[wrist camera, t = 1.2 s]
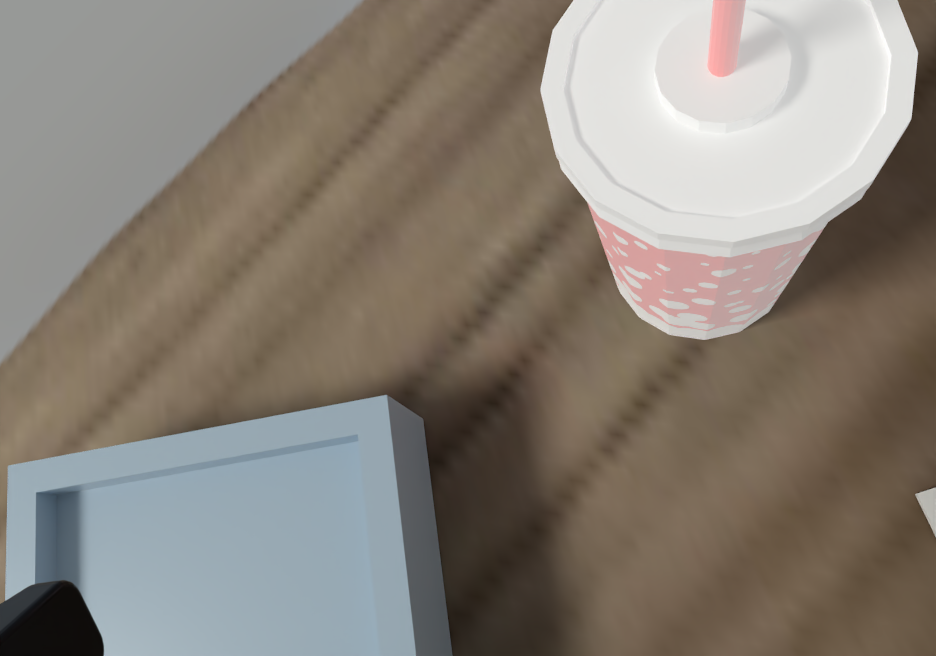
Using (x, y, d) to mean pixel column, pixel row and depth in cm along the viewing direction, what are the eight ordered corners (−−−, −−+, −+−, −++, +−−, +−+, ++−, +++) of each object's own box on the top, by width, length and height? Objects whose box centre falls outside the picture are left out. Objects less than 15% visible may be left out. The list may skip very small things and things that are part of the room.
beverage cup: (709, 417, 22) (780, 179, 9) (537, 265, 24) (386, -112, 11) (875, 245, 22) (1182, -234, 9) (690, 109, 24) (723, -442, 11)
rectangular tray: (474, 833, 21) (441, 880, 17) (91, 873, 22) (-2, 921, 19) (423, 419, 24) (386, 394, 20) (88, 479, 25) (8, 465, 22)
